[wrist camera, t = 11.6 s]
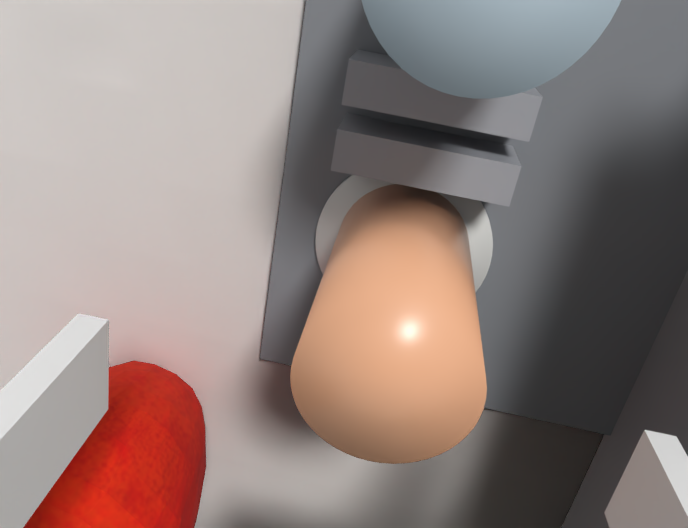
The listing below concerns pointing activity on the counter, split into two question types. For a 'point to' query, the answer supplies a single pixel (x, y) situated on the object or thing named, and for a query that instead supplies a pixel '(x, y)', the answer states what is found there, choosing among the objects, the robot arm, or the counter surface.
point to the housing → (514, 193)
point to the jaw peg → (394, 332)
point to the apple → (134, 458)
